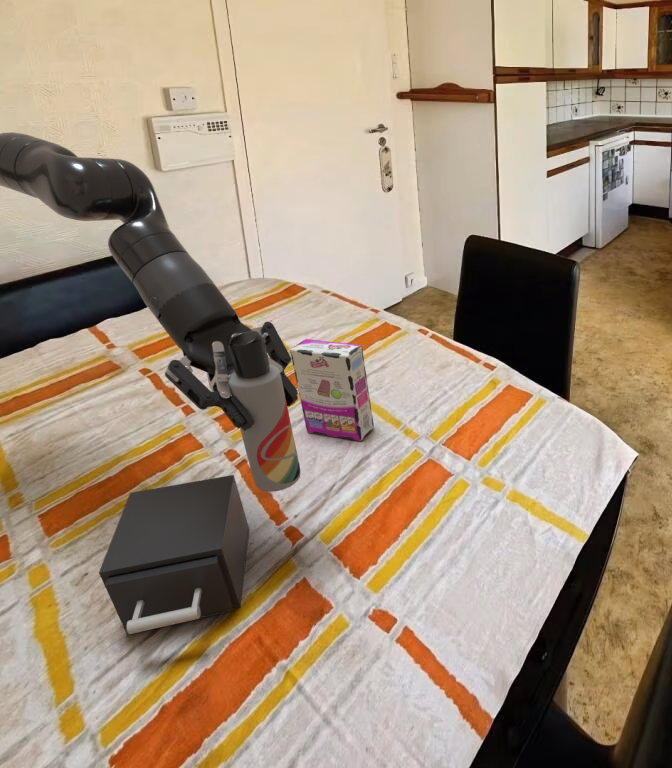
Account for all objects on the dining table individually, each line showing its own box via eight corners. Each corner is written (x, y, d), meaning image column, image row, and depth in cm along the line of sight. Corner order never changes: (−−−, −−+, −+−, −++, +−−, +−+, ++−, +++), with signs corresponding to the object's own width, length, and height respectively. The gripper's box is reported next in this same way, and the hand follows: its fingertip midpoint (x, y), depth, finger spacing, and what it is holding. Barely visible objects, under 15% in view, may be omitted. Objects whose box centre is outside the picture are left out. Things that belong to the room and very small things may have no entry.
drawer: (228, 639, 71) (211, 589, 67) (117, 664, 68) (93, 614, 64) (242, 536, 86) (228, 491, 82) (151, 553, 83) (133, 508, 79)
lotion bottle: (306, 483, 78) (276, 339, 69) (259, 498, 76) (221, 350, 66) (295, 460, 83) (265, 321, 73) (250, 474, 80) (213, 331, 71)
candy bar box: (375, 427, 111) (363, 344, 103) (361, 442, 107) (348, 356, 99) (321, 418, 114) (305, 336, 106) (305, 432, 110) (287, 349, 102)
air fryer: (240, 607, 76) (221, 548, 71) (126, 632, 73) (98, 572, 68) (249, 529, 88) (233, 474, 84) (152, 548, 85) (130, 492, 81)
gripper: (229, 298, 81) (307, 401, 81) (119, 338, 71) (209, 456, 71) (247, 266, 76) (330, 376, 76) (131, 303, 66) (228, 430, 66)
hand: (271, 414), depth 74 cm, fingers closed on lotion bottle, 5 cm apart
